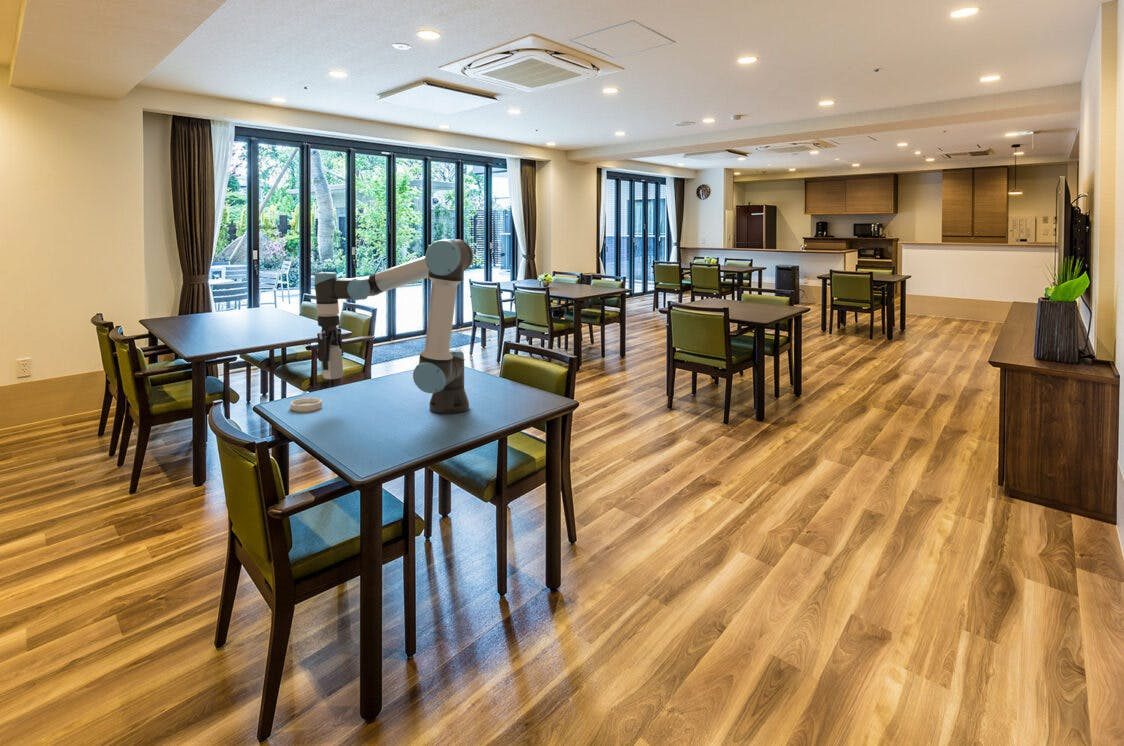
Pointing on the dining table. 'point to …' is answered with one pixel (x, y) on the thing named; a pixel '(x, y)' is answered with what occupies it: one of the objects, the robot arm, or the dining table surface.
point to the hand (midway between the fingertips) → (332, 375)
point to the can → (335, 362)
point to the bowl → (306, 404)
